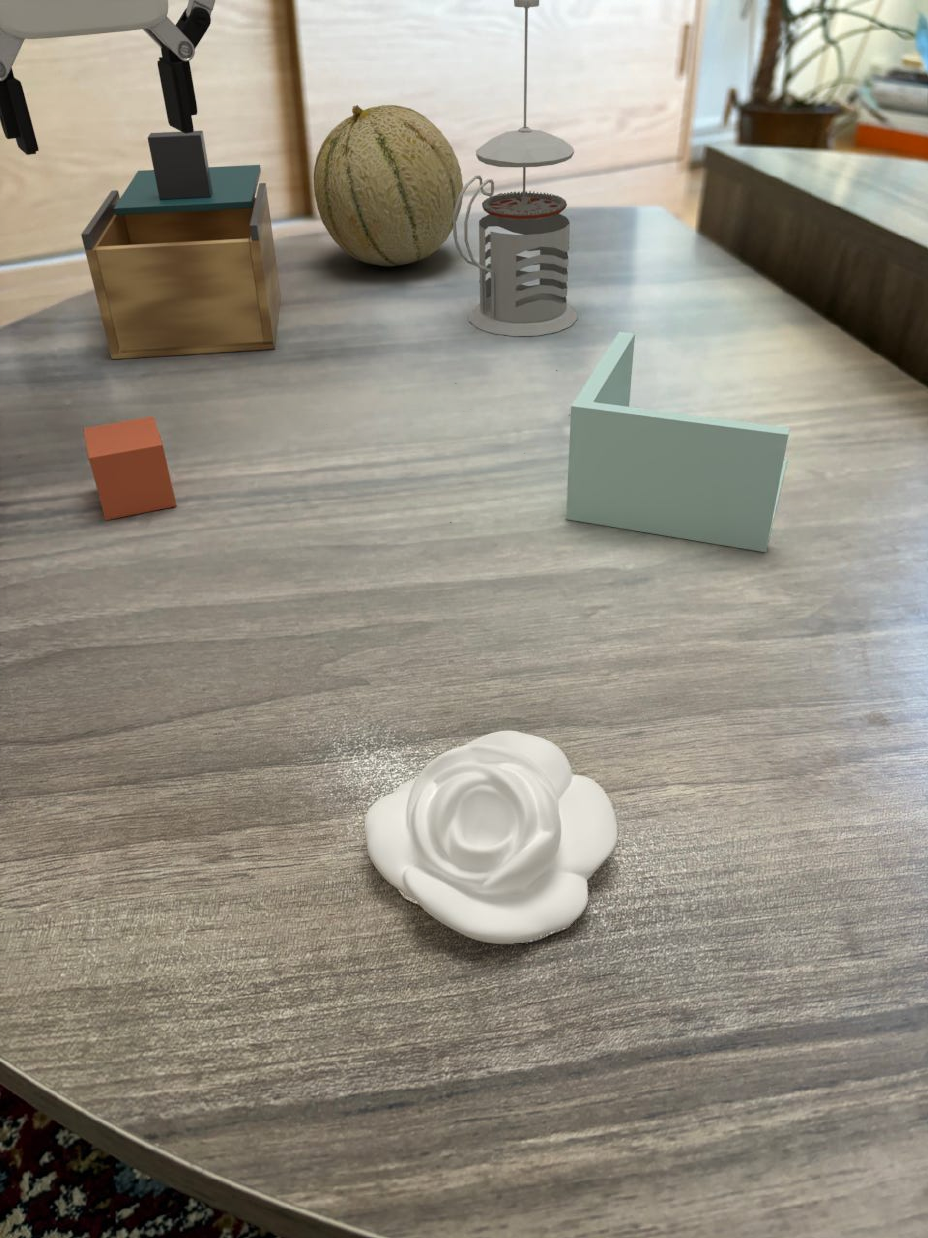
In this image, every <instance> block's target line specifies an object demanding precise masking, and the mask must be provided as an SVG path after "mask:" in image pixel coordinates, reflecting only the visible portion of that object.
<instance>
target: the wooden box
mask: <svg viewBox="0 0 928 1238" xmlns="http://www.w3.org/2000/svg"><path fill="white" fill-rule="evenodd" d="M120 198H121V196H120V193H119V190H110V192H109V194H108V195H107V197H106V198H105V199H104V201H103V202H102V204H101V205H100V207H99V208H98V210H97V211H95V214H94V215H93V216H92V218H91V220H90V221H89V222H88V224H87V225H86V227H85V228H84V230H83V231H82V233H81V234H80V236H81V241H82V245H83V248H84V253H85V256H86V257H85V258H86V261H87V265H88V268H89V273H90V277H91V280H92V285H93V288H94V292H95V293H94V294H95V298H96V301H97V306H98V309H99V313H100V318H101V321H102V327H103V330H104V334H105V338H106V342H107V346H108V350H109V354H110V358H111V359H112V360H121V359H136V358H137V359H138V358H152V357H153V358H154V357H168V356H169V357H170V356H171V357H172V356H182V355H183V356H184V355H185V356H186V355H187V356H188V355H200V354H216V353H218V354H219V353H231V352H250V351H265V350H266V351H267V350H275V347H276V339H277V331H278V323H279V313H280V306H281V305H280V304H281V294H282V293H281V286H280V280H279V272H278V265H277V263H278V262H277V257H276V250H275V242H274V235H273V234H274V233H273V228H272V227H273V225H272V219H271V218H272V217H271V213H270V212H271V211H270V204H269V198H268V189H267V183H266V182H260V183H259V182H258V186H257V190H256V195H255V198H254V203H253V207H252V208H247V209H228V210H209V211H189V212H170V213H151V214H132V215H115V212H114V207H115V206H116V204H117V202H118V201H119V199H120Z"/></svg>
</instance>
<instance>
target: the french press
mask: <svg viewBox="0 0 928 1238" xmlns="http://www.w3.org/2000/svg"><path fill="white" fill-rule="evenodd" d="M513 6H514V7H515V8H523V9H524V57H523V58H524V60H523V61H524V64H523V66H524V68H523V69H524V71H523V72H524V73H523V126H522V127H520V128H519V129H516V130H509V131H505V132H503V133H500V134H498V135H496V136H494V137H492V138H490V139H489V140H488V141H487V142H485V143H483V144H482V145H481V146H479V148H477V149H476V150H475V155H476V158H477V160H478V161H479V162H481V163H483V164H485V165H488V166H493V167H498V168H522V191H521V192H520V191H518V192H517V191H510V192H507V193H506V192H504V193H502V192H500V193H497V194H495V195H494V192H495V182H494V180H493V179H492V178H488V179H486V180H484V181H483V178H482V176H481V175H474V177H472V178H471V179H470V180H469V181H468V182H467V183H465V184H464V185H463V189H462V191H461V193H460V194H459V197H458V200H457V203H456V206H455V210H454V214H453V230H452V232H453V233H452V235H453V240H454V245H455V248H456V250H457V252H458V254H459V256H460V257H461V258H462V260H464V261H465V263H467V264H468V265H471V266H474V267H476V268H478V269H479V303H478V304H477V305H476V306H474V308H473V309H472V310H471V311H470V312H469V314H468V317H469V318H468V319H469V322H470V323H471V324H472V325H473V326H475V327H476V328H477V329H479V330H482V331H485V332H488V333H491V334H495V335H501V336H510V337H539V336H542V335H549V334H553V333H554V334H555V333H558V332H561V331H563V330H566V329H567V328H569V327H572V326H573V324H574V323H575V322H576V321H577V320H578V314H577V311H576V310H575V309H574V308H573V306H572V305H570V303H569V302H568V300H567V296H568V284H567V283H568V282H569V281H568V280H569V272H568V267H569V254H568V252H569V251H570V233H571V232H570V229H571V228H570V227H571V223H570V220H569V218H568V217H567V216H566V215H564V214H561V213H563V212H564V210H565V209H567V206H568V204H567V201H566V200H565V198H563V197H561V196H559V195H555V194H553V193H548V192H543V193H542V192H540V193H539V192H538V191H536V192H535V191H531V190H529V192H528V191H526V173H527V172H526V171H527V169H526V168H539V167H548V166H554V165H557V164H561V163H565V162H567V161H569V160H570V159H572V157H573V155H574V154H575V149H574V147H573V146H572V145H571V144H569V143H568V142H567V141H565V140H564V139H562V138H560V137H559V136H556V135H553V134H552V133H549V132H546V131H543V130H539V129H531V128H530V127H529V126H527V100H528V99H527V98H528V93H527V92H528V89H527V88H528V31H529V29H528V24H529V23H528V22H529V9H530V8H536V7H539V6H540V0H513ZM475 180H479V186H478V187H477V188H476V190H475V191H474V193H473V195H472V197H471V198H470V201H469V203H468V205H467V207H466V211H465V212H466V214H465V217H464V222H463V229H464V230H463V231H464V232H463V233H464V235H463V237H464V238H463V239H464V245H465V248H466V251H467V253H468V256H469V259H470V260H469V259H468V258H467V257H466V256H465V255H464V254H463V251H462V250H461V246H460V243H459V241H458V231H457V221H456V216H457V211H458V206H459V204H460V201H461V198H462V196H463V197H464V194H465V192H466V190H467V189H468V188H469V186H470V185H471V184H472V183H473V182H474V181H475ZM487 184H490V192H488V191H485V190H484V187H485V186H486V185H487ZM479 192H481V194H482V195H484V196H486V197H488V198H486V199H484V200H483V201H482V203H481V207H482V209H483V211H484V212H485V213H487V215H485V216H483V217H481V218H480V219H479V220H478V250H479V251H478V253H479V255H478V256H479V259H478V260H479V261H478V260H476V259H475V258H474V255H473V253H472V250H471V247H470V243H469V240H468V239H469V238H468V237H469V235H468V221H469V218H470V212H471V209H472V205H473V203H474V201H475V199H476V198H477V196H478V194H479ZM462 199H463V198H462ZM489 227H498V228H501V229H504V230H506V231H509V232H511V233H513V234H511V233H502V232H501V233H500V232H495V231H492V230H491V231H490V233H489V234H487V235H486V230H487V229H488V228H489ZM489 243H490V248H488V249H487V250H486V245H488V244H489ZM534 251H539V254H537V255H534V256H530V257H526V256H522V255H519V254H521V253H523V252H534ZM489 258H490V263H488V264H486V260H488V259H489ZM530 266H539V270H534V271H525V270H522V269H524V268H526V267H530ZM488 273H490V277H488V278H487V277H486V276H487V274H488ZM535 280H539V284H533V285H526V283H528V282H532V281H535Z"/></svg>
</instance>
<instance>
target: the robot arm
mask: <svg viewBox="0 0 928 1238" xmlns="http://www.w3.org/2000/svg"><path fill="white" fill-rule="evenodd" d="M215 3H216V0H188V3H187V6H186V8H185V9H184V11H183V12H182V14H181V15H180V17H179V19H178V20H177V21H176V23H174V22H173V21H172V20H171V19H170V18H169V17H168V14H169V0H0V124H1V129H2V131H3V134H4V136H5V138H6V139H7V140H12V139H15V142H16V145H17V147H18V149H19V150H21V151H22V152H23V153H24V154H25V155H26V156H29V155H30V156H31V155H36V154H37V152H39V150H40V149H39V145H38V141H37V137H36V133H35V129H34V125H33V122H32V117H31V113H30V111H29V107H28V104H27V103H28V102H27V99H26V95H25V92H24V88H23V85H22V82H21V80H19V79H18V78H16V77H15V75H14V71H13V65H14V63H15V61H16V59H17V57H18V54H19V53H20V51H21V48H22V46H23V44H24V42H25V40H42V39H53V38H67V37H77V36H79V37H80V36H89V35H90V36H91V35H99V34H110V33H120V32H130V31H138V30H142V31H144V33H146V34H147V35H148V37H149V38H150V39H151V40H152V41H153V42H154V43H155V44H156V45H157V46H158V47H159V48H160V53H161V56H159V57H158V60H157V62H156V64H157V69H158V75H159V81H160V85H161V90H162V96H163V100H164V106H165V107H164V108H165V113H166V117H167V122H168V125H169V126H170V127H172V128H173V129H175V130H178V132H183V133H192V132H194V131H195V129H194V122H193V117H192V116H197V115H198V103H197V97H196V92H195V87H194V80H193V75H192V74H193V73H192V69H191V62H190V61H191V60H193V59H194V57H195V53H196V48H197V47H198V45H199V43H201V41H202V39H203V37H204V36H205V34H206V33H207V31H208V29H210V28H209V27H210V25H211V24H212V18H211V15H212V12H213V11H214V8H215Z"/></svg>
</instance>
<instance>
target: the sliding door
mask: <svg viewBox="0 0 928 1238" xmlns="http://www.w3.org/2000/svg"><path fill="white" fill-rule="evenodd" d="M204 137H205V136H204V131H203V130H194V132H192V133H183V132H181V131H164V132H150V133H149V134H148V136H147V143H148V147H149V152H150V158H151V163H152V168H153V169H143V170H137V172H136V173H135V174H134V176H133V178H132V179H131V181H130V183H129V184H128V185H127V187H126V189H125V190H124V192H123V193H122V195H121V196H120V199H119V201H118V202H117V204H116V206H115V207H114V212H115V215H132V214H151V213H170V212H189V211H209V210H228V209H247V208H252V207H253V203H254V198H256V195H257V191H258V186H259V181H260V176H261V173H262V168H261V164H251V165H250V164H248V165H246V164H245V165H229V166H227V165H226V166H209V160H208V154H207V150H206V149H207V148H206V143H205V138H204Z"/></svg>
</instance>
